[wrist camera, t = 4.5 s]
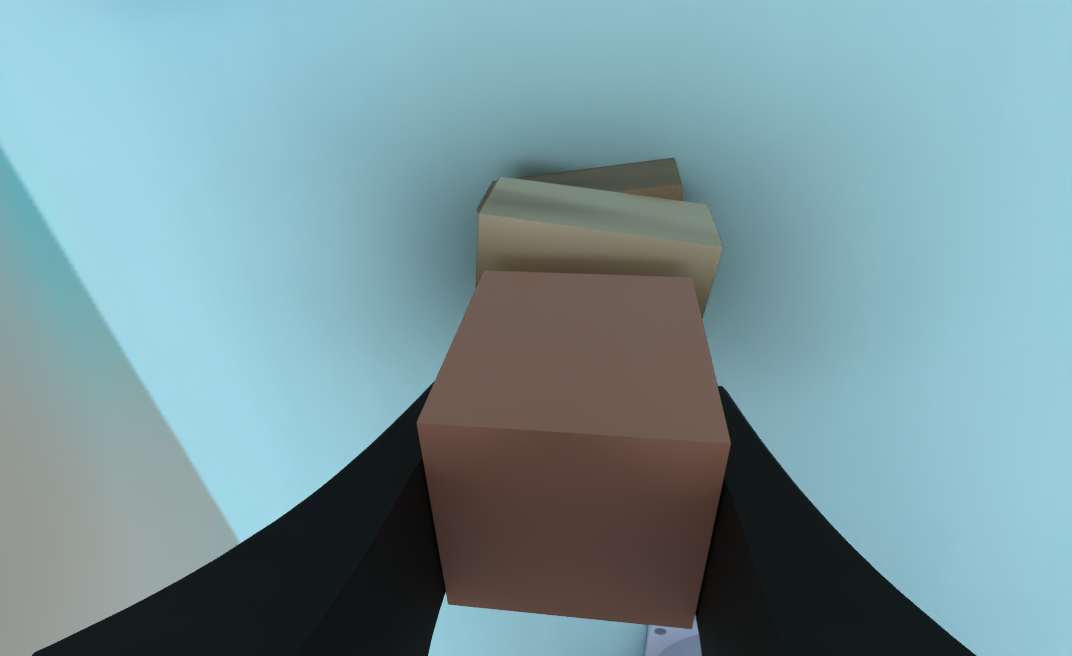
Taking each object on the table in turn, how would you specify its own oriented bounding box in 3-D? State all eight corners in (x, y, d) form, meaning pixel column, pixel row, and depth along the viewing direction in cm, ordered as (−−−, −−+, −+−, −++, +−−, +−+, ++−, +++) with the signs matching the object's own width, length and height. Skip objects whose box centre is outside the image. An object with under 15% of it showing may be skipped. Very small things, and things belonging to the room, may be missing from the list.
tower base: (680, 313, 18) (688, 358, 16) (525, 325, 19) (513, 369, 17) (673, 154, 16) (681, 183, 14) (494, 177, 17) (477, 208, 15)
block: (671, 436, 13) (692, 629, 9) (496, 424, 13) (447, 604, 10) (692, 277, 11) (730, 443, 7) (484, 270, 11) (416, 422, 8)
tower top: (662, 372, 16) (668, 431, 14) (489, 346, 17) (470, 401, 15) (707, 204, 14) (723, 246, 12) (500, 176, 14) (479, 213, 12)
